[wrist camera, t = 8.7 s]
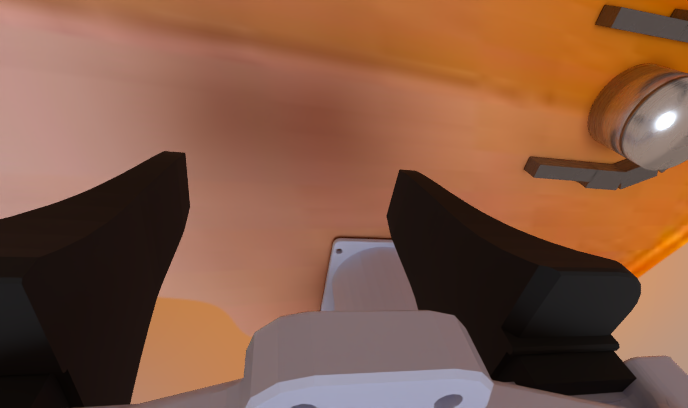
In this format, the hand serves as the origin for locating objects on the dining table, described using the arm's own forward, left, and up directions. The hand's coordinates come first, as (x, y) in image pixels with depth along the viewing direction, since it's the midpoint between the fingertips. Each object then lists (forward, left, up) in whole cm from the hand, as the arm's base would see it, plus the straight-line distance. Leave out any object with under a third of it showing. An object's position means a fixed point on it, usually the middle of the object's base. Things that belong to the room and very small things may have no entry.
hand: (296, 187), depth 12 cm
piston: (+2, -23, -10) cm, 25 cm away
